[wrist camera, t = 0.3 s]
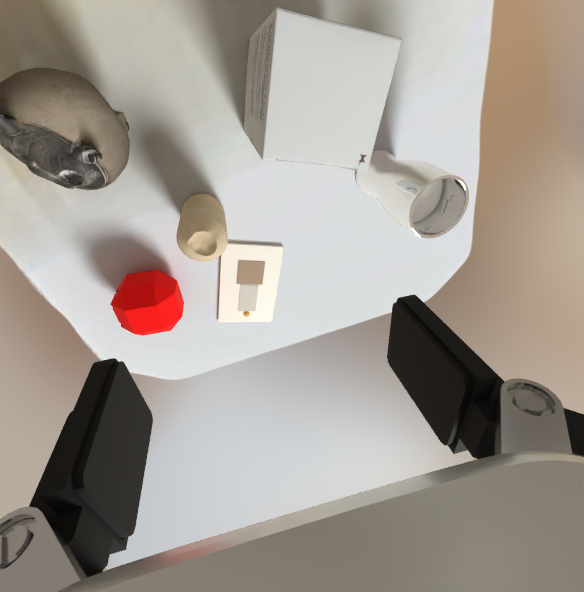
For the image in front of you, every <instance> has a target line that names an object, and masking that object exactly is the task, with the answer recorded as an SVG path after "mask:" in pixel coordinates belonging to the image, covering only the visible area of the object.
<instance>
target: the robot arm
mask: <svg viewBox="0 0 584 592" xmlns="http://www.w3.org/2000/svg"><path fill="white" fill-rule="evenodd" d="M387 358H388V362H389V365H390V367H391V368H392V370H393V371H394V373H395V374H396V375H397V377H398V378H399V380H400V382H401V383H402V385H403V386H404V388H405V389H406V390H407V392H408V393H409V395H410V396H411V398H412V399H413V401H414V402H415V404H416V405H417V407H418V408H419V410H420V411H421V413H422V414H423V416H424V417H425V419H426V420H427V422H428V423H429V425H430V426H431V428H432V429H433V431H434V432H435V434H436V435H437V437H438V438H439V440H440V441H441V443H443V444H444V445H448V446H449V447H450V449H451V451H452V452H453V453H454V454H455V453H459V452H462V451H466V450H468V451H469V452H470V453H471V455H472V456H473V457H474V461H471V462H467V463H463V464H459V465H455V466H452V467H448V468H444V469H441V470H437V471H433V472H430V473H427V474H423V475H420V476H416V477H413V478H409V479H406V480H403V481H399V482H396V483H393V484H389V485H386V486H382V487H379V488H375V489H372V490H368V491H365V492H361V493H358V494H355V495H351V496H348V497H344V498H341V499H338V500H334V501H331V502H328V503H324V504H321V505H317V506H314V507H311V508H307V509H304V510H301V511H297V512H294V513H291V514H287V515H284V516H281V517H277V518H274V519H270V520H267V521H264V522H260V523H257V524H254V525H250V526H247V527H244V528H241V529H238V530H234V531H230V532H227V533H224V534H220V535H217V536H214V537H211V538H207V539H204V540H201V541H198V542H194V543H191V544H187V545H184V546H181V547H177V548H174V549H171V550H168V551H165V552H162V553H159V554H156V555H152V556H149V557H146V558H143V559H140V560H137V561H134V562H131V563H127V564H125V565H121V566H118V567H115V568H112V569H110V570H106V568H105V567H106V566H107V563H108V559H109V555H110V554H112V553H116V552H119V551H123V550H126V546H127V540H128V536H131V535H132V534H133V533H134V530H135V526H136V519H137V514H138V507H139V501H140V495H141V489H142V484H143V477H144V471H145V465H146V459H147V453H148V447H149V441H150V435H151V429H152V422H153V418H152V414H151V411H150V409H149V407H148V406H147V404H146V402H145V400H144V398H143V397H142V395H141V393H140V391H139V389H138V388H137V386H136V384H135V382H134V380H133V378H132V377H131V375H130V373H129V371H128V369H127V367H126V365H125V364H124V362H122V361H121V362H118V361H117V360H116V359H114V358H113V359H108V360H104V361H99V362H95V363H94V364H93V365H92V367H91V370H90V372H89V375H88V377H87V379H86V382H85V384H84V386H83V389H82V391H81V393H80V396H79V398H78V401H77V403H76V405H75V408H74V410H73V411H72V412H71V413H70V414H69V416H68V418H67V420H66V422H65V424H64V426H63V429H62V431H61V434H60V436H59V438H58V440H57V443H56V445H55V448H54V450H53V452H52V455H51V457H50V459H49V461H48V464H47V466H46V468H45V471H44V473H43V475H42V478H41V480H40V482H39V484H38V487H37V489H36V492H35V494H34V496H33V498H32V501H31V503H30V505H29V507H25V508H20V509H17V510H15V511H13V512H11V513H9V514H7V515H6V516H4V517H3V518H1V519H0V592H584V414H580V413H577V412H574V411H571V410H568V409H565V408H563V406H562V403H561V401H560V400H559V398H558V397H557V396H556V395H555V394H554V393H553V392H552V391H550V390H549V389H548V388H546V387H544V386H543V385H541V384H539V383H536V382H533V381H531V380H526V379H510V380H507V381H506V382H504V381H503V380H502V379H501V378H500V377H499V376H498V375H497V374H496V373H495V372H494V371H493V370H492V369H491V368H490V367H489V366H488V365H487V364H486V363H485V362H484V361H483V360H482V359H481V358H480V357H479V356H478V355H477V354H476V353H475V352H474V351H473V350H471V349H470V348H469V347H468V346H467V345H466V344H465V343H464V342H463V341H462V340H461V339H460V338H459V337H458V336H457V335H456V334H455V333H454V332H453V331H452V330H451V329H450V328H449V327H448V326H447V325H446V324H445V323H444V322H443V321H442V320H441V319H440V318H439V317H438V316H437V315H436V314H435V313H433V311H431V310H430V309H429V308H428V307H427V306H426V305H425V304H424V303H423V302H422V301H421V300H420V299H419V298H418V297H417V296H416V295H410V296H405V297H400V298H398V299H397V302H396V303H394V304H393V308H392V318H391V327H390V336H389V345H388V355H387Z"/></svg>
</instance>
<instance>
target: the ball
mask: <svg viewBox="0 0 584 592" xmlns="http://www.w3.org/2000/svg"><path fill="white" fill-rule="evenodd" d="M116 292H117V293H116V294H115V295H114V298H113V300H112V302H111V305H112V306H113V310H114V312H115V314H116V316H117V318H118V321H119V322H120V323H121V327H123V328H124V329H126V330H128V331H130V332H132V333H134V334H137V335H148V334H154V333H160V332H165V331H171V330H172V329H173V327H174V326H175V325H176V324H177V322H178V321H179V320H180V319H181V317H182V314H183V305H184V301H183V298H182V295H181V292H180V289H179V286H178V282H177V280H175V279H174V278H172V277H170V276H168V275H166V274H164V273H162V272H160V271H158V270H153V271H146V272H139V273H133V274H127V276H126V277H125V279H124V280H123V282H122V283H121V284H120V286H119V287H118V289H117V291H116Z"/></svg>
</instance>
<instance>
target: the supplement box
mask: <svg viewBox="0 0 584 592" xmlns="http://www.w3.org/2000/svg"><path fill="white" fill-rule="evenodd" d="M401 42H402V39H401V38H399V37H394V36H390V35H386V34H382V33H378V32H374V31H370V30H366V29H362V28H358V27H354V26H349V25H345V24H341V23H337V22H333V21H329V20H325V19H321V18H317V17H313V16H309V15H305V14H301V13H297V12H293V11H289V10H285V9H281V8H279V7H276V8H275V9H274V10H273V12H272V13H271V14H270V15H269V16H268V17H267V19H266V20H265V21H264V22H263V23H262V24H261V25H260V27H259V28H258V29H257V30H256V31H255V32H254V33H253V35H252V36H251V37H250V40H249V49H248V62H247V78H246V96H245V115H244V132H245V133H246V135H247V136H248V138H249V139H250V141H251V143H252V144H253V146H254V147H255V149H256V150H257V152H258V154H259V155H260V157H261V158H262V159H263V160H273V161H284V162H294V163H304V164H313V165H321V166H329V167H335V168H342V169H349V170H355V171H360V172H367V170H368V166H369V162H370V159H371V155H372V151H373V148H374V144H375V140H376V136H377V132H378V129H379V125H380V121H381V117H382V114H383V110H384V106H385V102H386V98H387V95H388V91H389V87H390V83H391V80H392V76H393V72H394V69H395V65H396V61H397V57H398V53H399V49H400V45H401Z"/></svg>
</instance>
